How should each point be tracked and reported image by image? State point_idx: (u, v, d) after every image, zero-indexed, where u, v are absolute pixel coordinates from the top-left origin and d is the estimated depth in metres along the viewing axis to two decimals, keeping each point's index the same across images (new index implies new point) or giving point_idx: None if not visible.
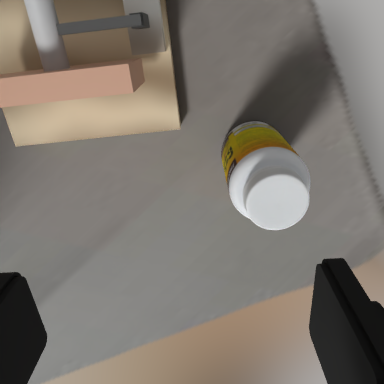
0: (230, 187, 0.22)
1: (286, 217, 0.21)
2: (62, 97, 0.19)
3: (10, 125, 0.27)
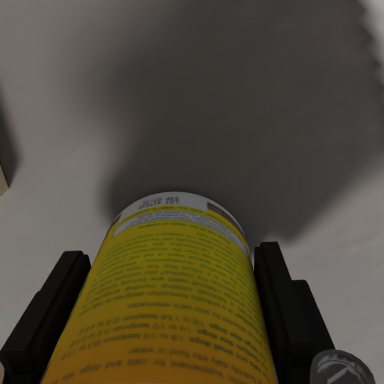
0: None
1: None
2: None
3: None
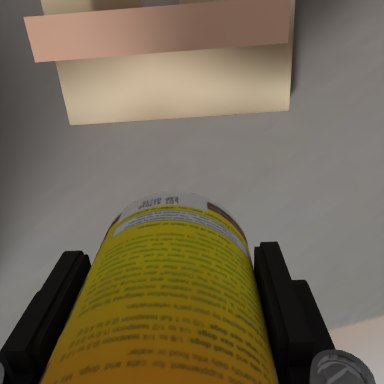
0: None
1: None
2: (179, 46, 0.13)
3: (66, 97, 0.20)
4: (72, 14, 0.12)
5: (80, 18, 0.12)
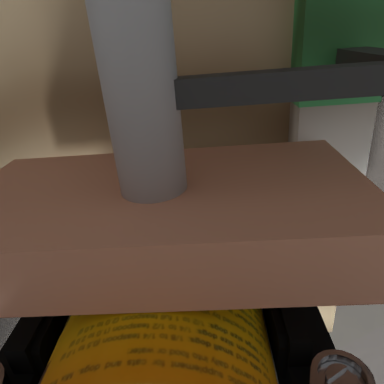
0: None
1: None
2: (189, 303, 0.06)
3: None
4: None
5: None
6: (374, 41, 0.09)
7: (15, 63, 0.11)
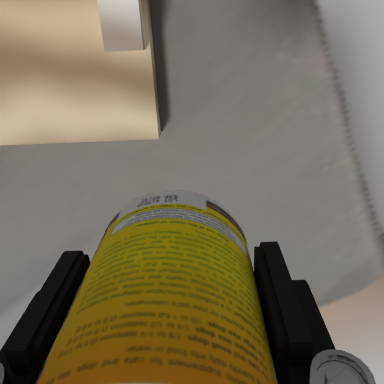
0: None
1: None
2: None
3: None
4: None
5: None
6: None
7: None
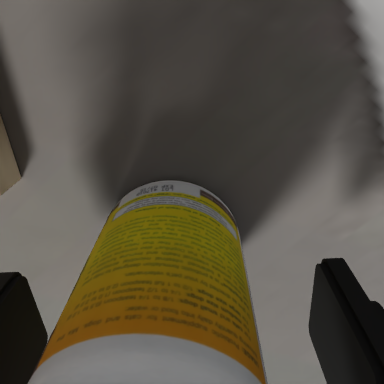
0: None
1: None
2: None
3: None
4: None
5: None
6: None
7: None
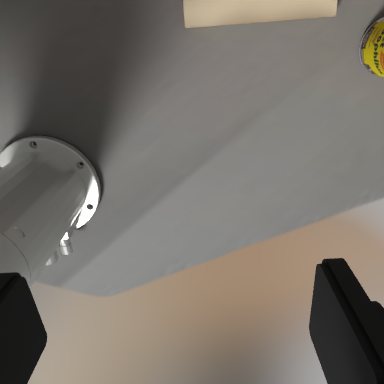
0: None
1: None
2: None
3: (185, 6, 0.30)
4: None
5: None
6: None
7: None
